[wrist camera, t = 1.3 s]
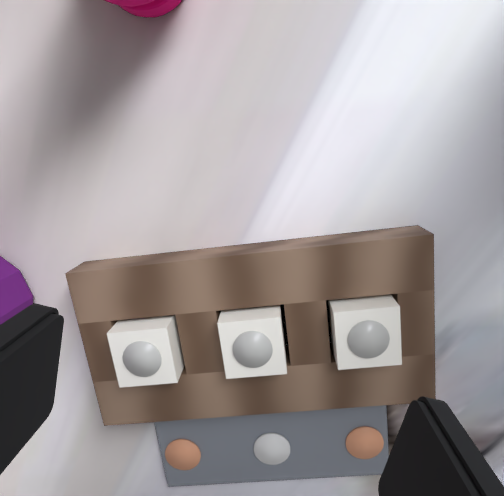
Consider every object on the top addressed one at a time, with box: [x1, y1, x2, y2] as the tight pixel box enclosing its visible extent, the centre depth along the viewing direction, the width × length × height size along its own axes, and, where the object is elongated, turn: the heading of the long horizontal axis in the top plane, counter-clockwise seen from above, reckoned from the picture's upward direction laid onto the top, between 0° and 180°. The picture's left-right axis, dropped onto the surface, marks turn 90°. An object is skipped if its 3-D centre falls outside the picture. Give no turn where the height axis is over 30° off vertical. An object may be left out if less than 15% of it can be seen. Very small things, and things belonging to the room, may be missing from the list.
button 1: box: [107, 315, 185, 388], centre depth 30 cm, size 4×4×3 cm
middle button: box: [217, 305, 287, 379], centre depth 29 cm, size 4×4×3 cm
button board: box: [65, 225, 435, 426], centre depth 30 cm, size 26×13×3 cm, turn 97°
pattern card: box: [154, 405, 389, 487], centre depth 34 cm, size 20×7×1 cm, turn 97°
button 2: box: [328, 294, 402, 370], centre depth 28 cm, size 4×4×3 cm
